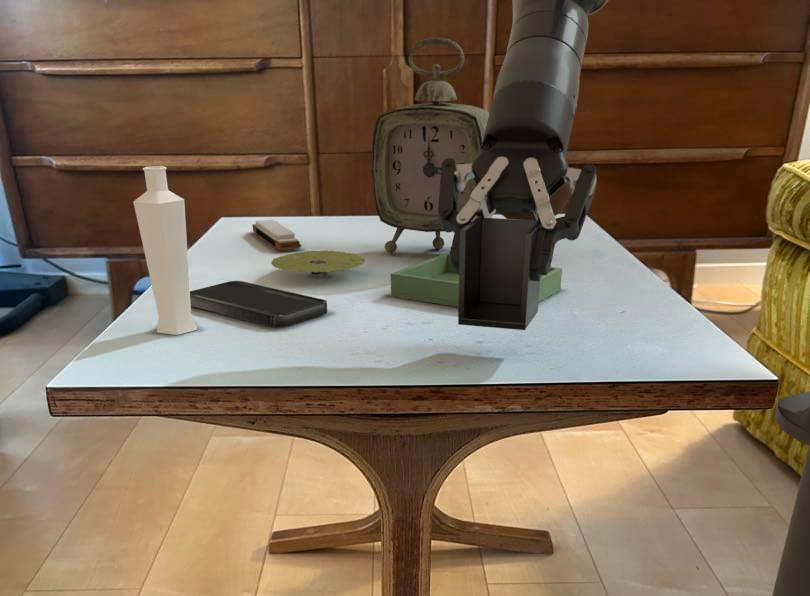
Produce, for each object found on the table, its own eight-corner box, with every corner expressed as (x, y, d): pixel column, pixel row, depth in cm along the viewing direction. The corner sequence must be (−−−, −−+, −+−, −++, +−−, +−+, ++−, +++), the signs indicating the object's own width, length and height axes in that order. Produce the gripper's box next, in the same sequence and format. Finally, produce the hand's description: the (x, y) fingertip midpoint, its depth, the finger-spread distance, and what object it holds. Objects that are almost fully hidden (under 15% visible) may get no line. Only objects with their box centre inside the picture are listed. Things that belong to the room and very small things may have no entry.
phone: (277, 317, 87) (181, 293, 95) (278, 329, 87) (182, 303, 95) (332, 301, 92) (236, 279, 100) (332, 311, 92) (237, 289, 101)
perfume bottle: (146, 327, 88) (121, 166, 81) (189, 320, 90) (168, 163, 83) (160, 338, 85) (135, 172, 78) (204, 331, 87) (183, 168, 79)
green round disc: (373, 267, 110) (372, 251, 109) (355, 289, 101) (355, 272, 100) (286, 264, 112) (285, 249, 111) (260, 286, 102) (259, 269, 101)
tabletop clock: (373, 256, 116) (368, 38, 103) (393, 242, 123) (391, 37, 111) (480, 262, 112) (488, 37, 100) (494, 248, 120) (503, 37, 107)
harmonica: (301, 250, 119) (300, 235, 118) (279, 252, 118) (278, 236, 117) (273, 231, 131) (271, 217, 130) (252, 232, 130) (251, 218, 129)
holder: (538, 311, 81) (544, 220, 76) (525, 330, 76) (531, 234, 72) (474, 306, 82) (477, 217, 78) (457, 324, 77) (460, 230, 73)
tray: (560, 290, 100) (562, 268, 99) (512, 316, 91) (514, 291, 90) (445, 273, 107) (445, 252, 106) (390, 296, 98) (390, 273, 97)
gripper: (448, 75, 77) (407, 242, 74) (614, 77, 74) (579, 253, 70) (462, 135, 84) (425, 290, 81) (613, 140, 81) (582, 303, 77)
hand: (497, 272), depth 75 cm, fingers closed on holder, 6 cm apart
